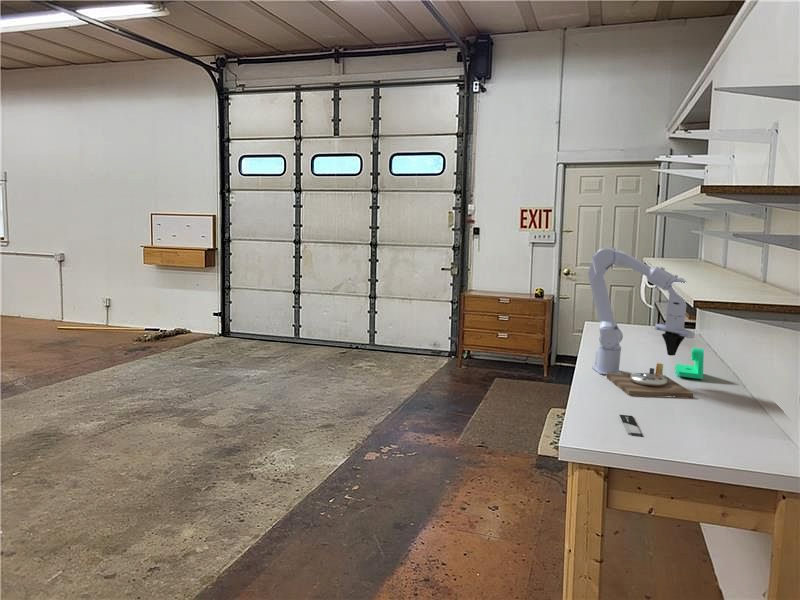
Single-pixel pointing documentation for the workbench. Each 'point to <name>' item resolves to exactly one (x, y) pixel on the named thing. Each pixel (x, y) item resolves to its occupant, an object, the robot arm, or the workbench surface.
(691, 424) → the workbench surface
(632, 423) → the computer memory module
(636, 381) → the flange plate
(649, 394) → the fixture board
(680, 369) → the camera mount
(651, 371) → the dowel pin
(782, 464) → the workbench surface
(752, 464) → the workbench surface
